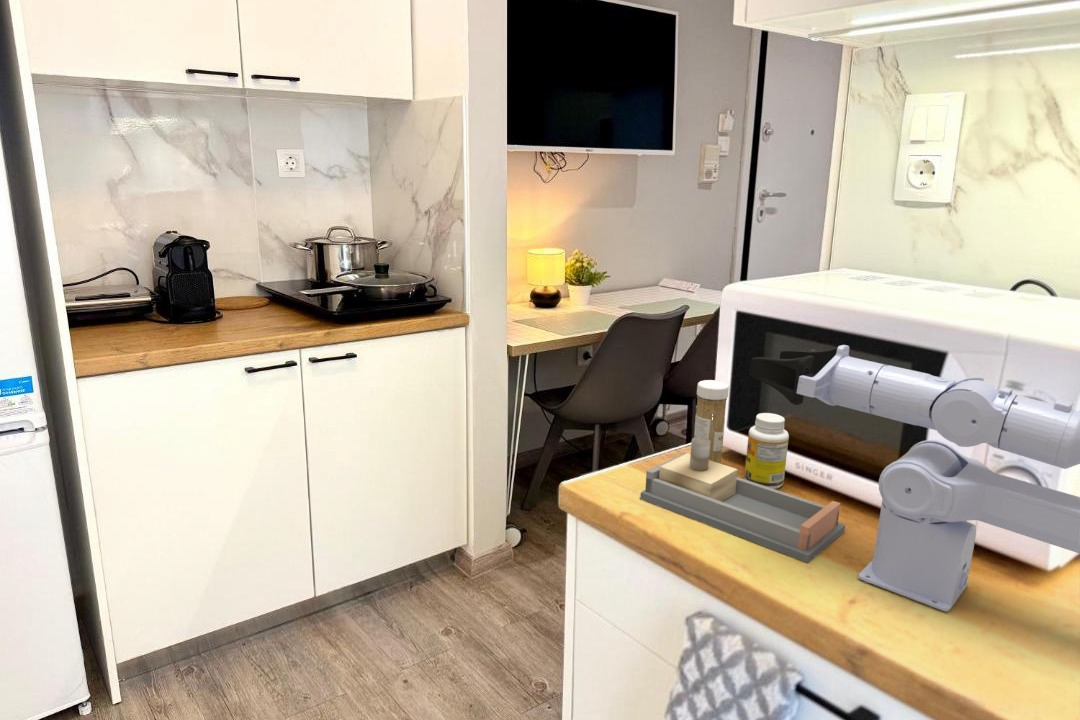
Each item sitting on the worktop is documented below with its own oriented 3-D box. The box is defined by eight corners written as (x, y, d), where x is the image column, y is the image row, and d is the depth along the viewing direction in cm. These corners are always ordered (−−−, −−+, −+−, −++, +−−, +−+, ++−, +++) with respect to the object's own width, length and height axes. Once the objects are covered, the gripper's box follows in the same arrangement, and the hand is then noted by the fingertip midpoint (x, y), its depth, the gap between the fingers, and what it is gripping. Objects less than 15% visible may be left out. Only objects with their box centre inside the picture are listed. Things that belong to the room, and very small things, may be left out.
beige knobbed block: (735, 493, 104) (740, 441, 102) (708, 509, 99) (713, 455, 97) (685, 476, 110) (689, 426, 108) (658, 490, 105) (661, 439, 103)
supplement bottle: (747, 472, 114) (754, 408, 112) (785, 479, 112) (793, 414, 109) (740, 486, 109) (747, 419, 107) (780, 494, 107) (788, 426, 104)
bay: (844, 531, 97) (848, 503, 96) (807, 563, 89) (811, 532, 88) (683, 476, 112) (685, 451, 111) (640, 498, 104) (642, 472, 103)
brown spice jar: (725, 472, 114) (733, 387, 110) (696, 473, 113) (703, 388, 110) (714, 461, 118) (722, 378, 115) (686, 461, 118) (693, 379, 114)
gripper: (907, 347, 88) (797, 325, 97) (862, 362, 78) (743, 335, 87) (895, 405, 90) (788, 378, 99) (849, 427, 79) (734, 395, 88)
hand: (766, 362), depth 93 cm, fingers open, 7 cm apart
